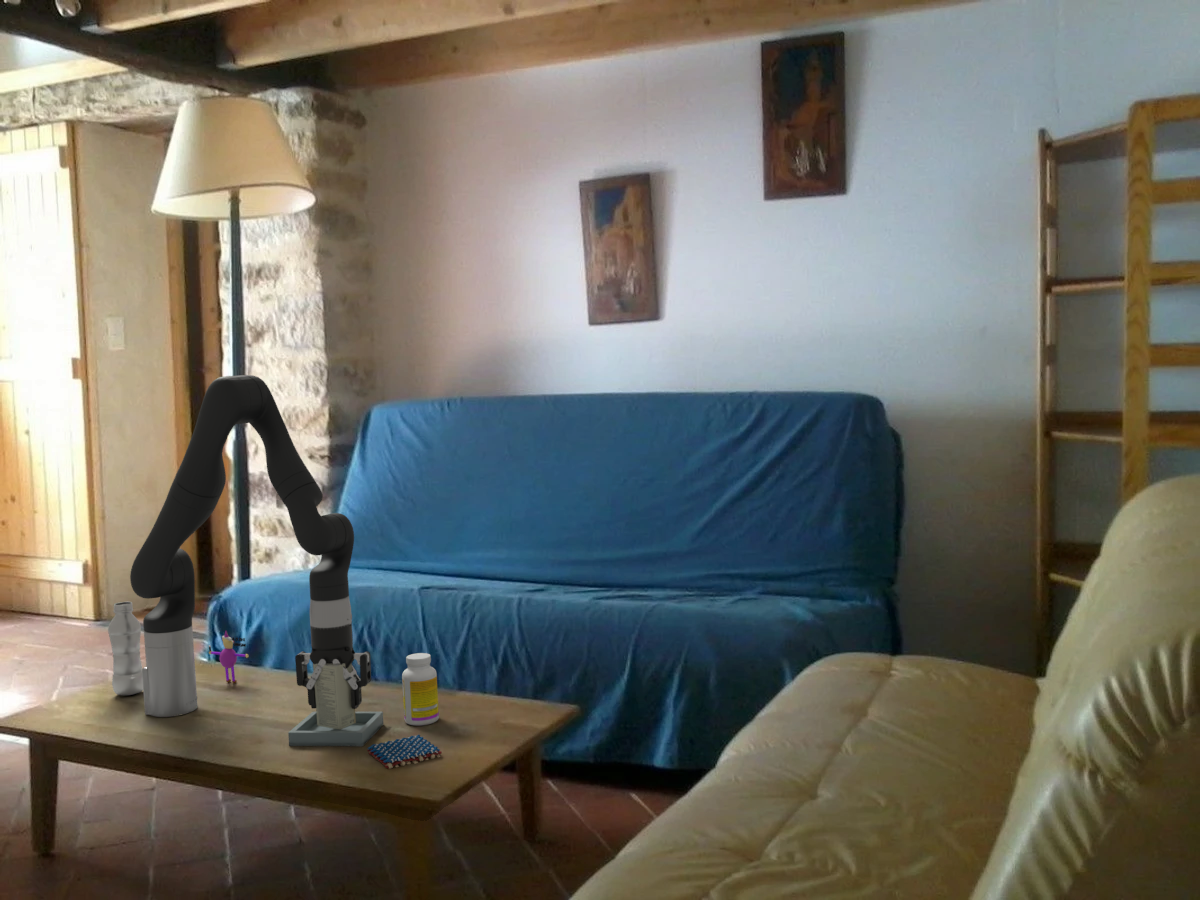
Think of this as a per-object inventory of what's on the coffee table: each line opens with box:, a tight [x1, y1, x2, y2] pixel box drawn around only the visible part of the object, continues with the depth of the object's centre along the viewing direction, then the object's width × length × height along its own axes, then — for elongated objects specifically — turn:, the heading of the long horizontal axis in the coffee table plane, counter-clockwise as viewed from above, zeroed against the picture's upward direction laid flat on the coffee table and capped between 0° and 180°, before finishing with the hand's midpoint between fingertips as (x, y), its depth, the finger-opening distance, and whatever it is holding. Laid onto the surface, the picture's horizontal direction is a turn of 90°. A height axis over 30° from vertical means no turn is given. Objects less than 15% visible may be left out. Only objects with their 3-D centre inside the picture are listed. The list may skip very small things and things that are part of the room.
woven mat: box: [366, 734, 443, 770], centre depth 191 cm, size 10×11×2 cm
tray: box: [287, 711, 385, 747], centre depth 202 cm, size 14×12×2 cm
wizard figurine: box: [208, 630, 249, 684], centre depth 239 cm, size 11×3×12 cm, turn 66°
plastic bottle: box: [107, 601, 143, 696], centre depth 233 cm, size 6×7×20 cm
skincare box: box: [312, 663, 356, 730], centre depth 202 cm, size 6×4×12 cm
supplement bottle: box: [401, 652, 440, 727], centre depth 208 cm, size 7×7×13 cm
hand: (335, 707), depth 202 cm, fingers open, 7 cm apart
